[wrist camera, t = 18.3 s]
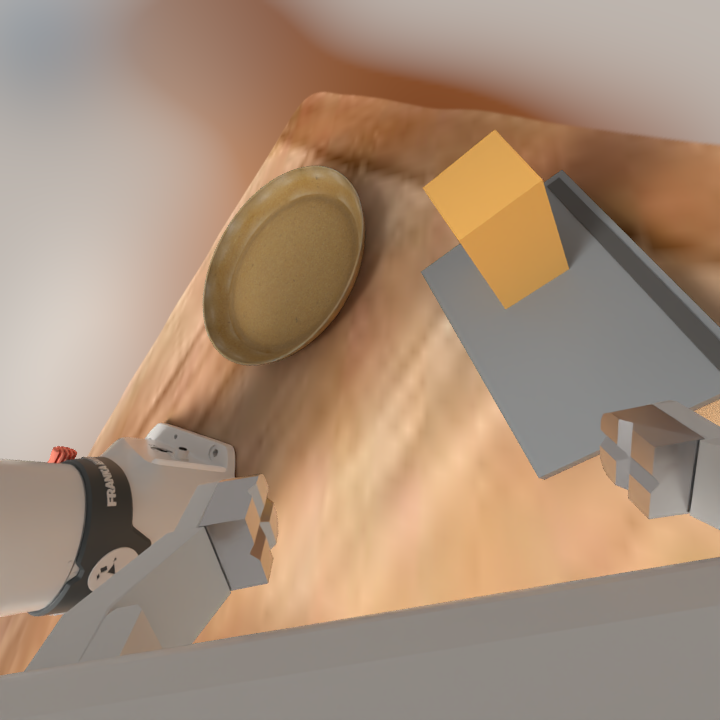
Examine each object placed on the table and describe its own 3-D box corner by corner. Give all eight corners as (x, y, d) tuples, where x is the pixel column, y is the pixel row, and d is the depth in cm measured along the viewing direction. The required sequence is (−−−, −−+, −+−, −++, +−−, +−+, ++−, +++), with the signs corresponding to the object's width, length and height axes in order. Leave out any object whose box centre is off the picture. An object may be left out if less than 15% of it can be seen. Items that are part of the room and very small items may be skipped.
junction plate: (756, 381, 24) (799, 335, 17) (544, 479, 28) (516, 471, 22) (565, 185, 33) (548, 109, 27) (430, 281, 38) (387, 236, 31)
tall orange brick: (505, 309, 31) (458, 241, 23) (474, 263, 33) (422, 187, 25) (569, 269, 29) (542, 179, 21) (531, 224, 32) (494, 129, 24)
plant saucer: (302, 411, 42) (279, 405, 39) (197, 326, 57) (175, 317, 54) (420, 202, 41) (405, 182, 39) (283, 171, 56) (266, 154, 53)
